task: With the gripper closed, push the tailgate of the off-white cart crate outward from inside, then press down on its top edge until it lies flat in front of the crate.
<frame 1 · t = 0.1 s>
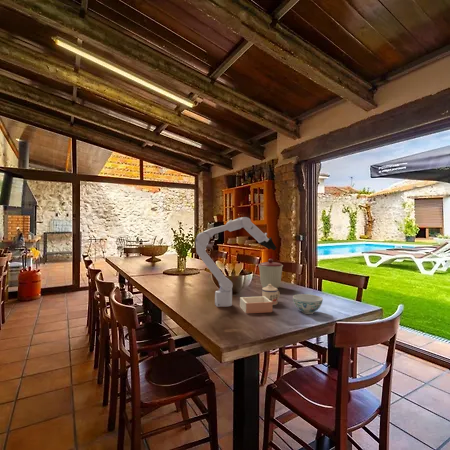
hand: (273, 248, 165), 32 cm above the table, tool tilted 50°, fingers open, 7 cm apart
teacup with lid: (271, 304, 165), on the table
tailgate: (259, 307, 145), point 4 cm above the table, hinge at 0.0°
canister: (270, 287, 210), on the table
chinaware: (307, 312, 150), on the table
cart crate: (255, 310, 151), on the table
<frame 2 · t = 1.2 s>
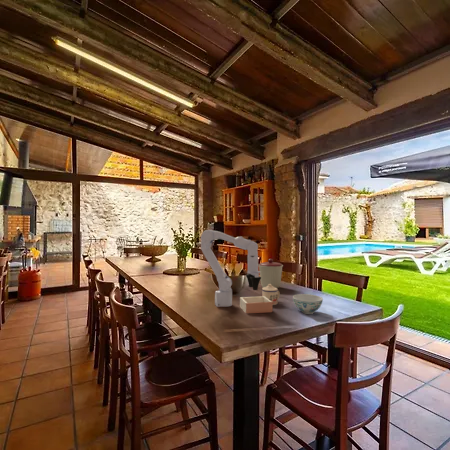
hand: (253, 288, 157), 11 cm above the table, tool pointing down, fingers open, 7 cm apart
nothing on the table moved.
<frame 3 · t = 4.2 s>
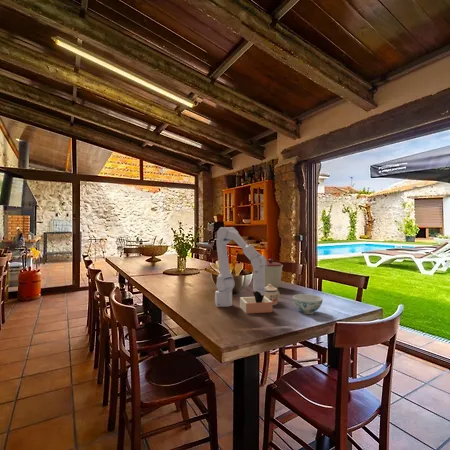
hand: (258, 306, 146), 4 cm above the table, tool pointing down, fingers closed, pressing on tailgate
tailgate: (259, 307, 145), point 4 cm above the table, hinge at 0.3°, touching gripper
everything else where it was.
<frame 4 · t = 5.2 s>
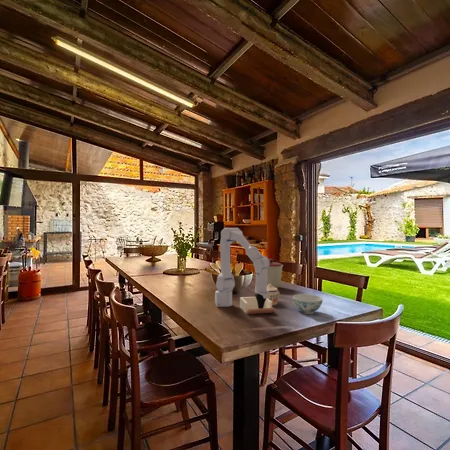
hand: (260, 309, 142), 4 cm above the table, tool pointing down, fingers closed, pressing on tailgate
tailgate: (260, 311, 143), point 2 cm above the table, hinge at 50.8°, touching gripper
everything else where it was.
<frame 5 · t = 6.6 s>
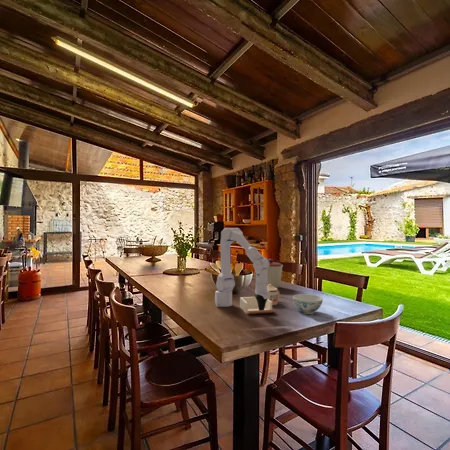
hand: (261, 310, 142), 3 cm above the table, tool pointing down, fingers closed, pressing on tailgate
tailgate: (260, 312, 143), point 2 cm above the table, hinge at 59.7°, touching gripper
everything else where it was.
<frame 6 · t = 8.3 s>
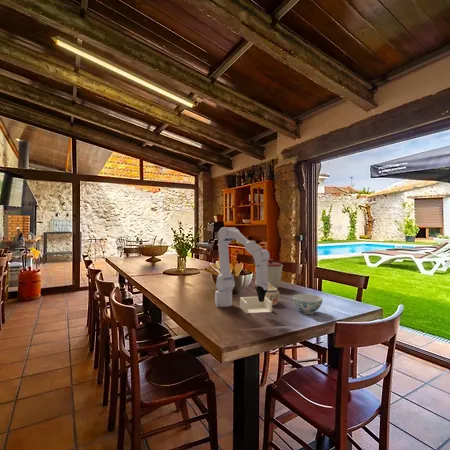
hand: (261, 301, 142), 7 cm above the table, tool pointing down, fingers closed
tailgate: (260, 315, 143), on the table, hinge at 93.0°
everything else where it was.
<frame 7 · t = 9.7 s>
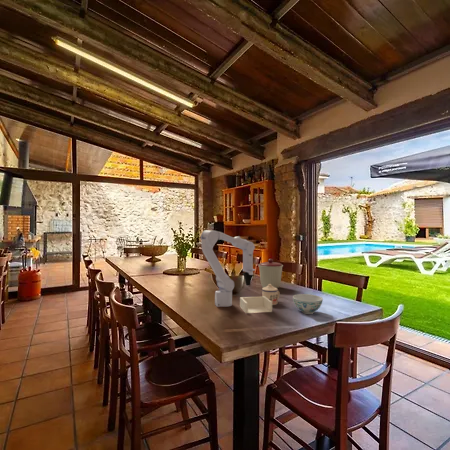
hand: (248, 285, 167), 10 cm above the table, tool pointing down, fingers closed
tailgate: (260, 315, 143), on the table, hinge at 93.4°
everything else where it was.
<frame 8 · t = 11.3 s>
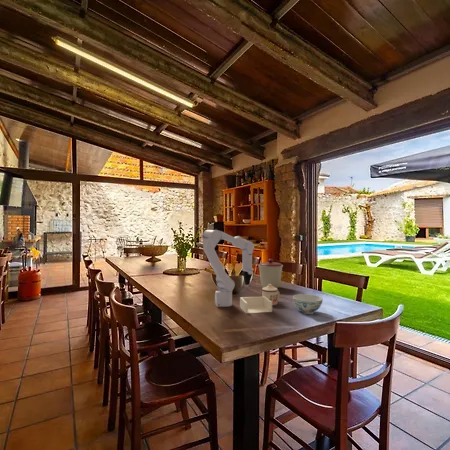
hand: (247, 284, 168), 10 cm above the table, tool pointing down, fingers closed
nothing on the table moved.
at the end: tailgate at +93° (first picture: +0°); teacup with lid moved 0.2 cm from its start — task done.
